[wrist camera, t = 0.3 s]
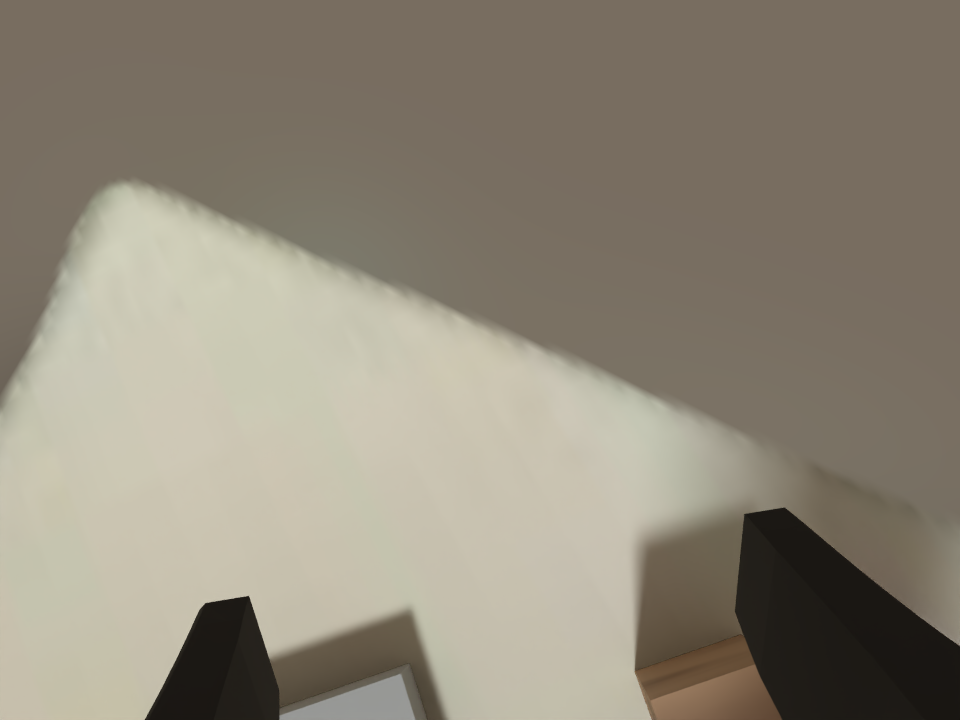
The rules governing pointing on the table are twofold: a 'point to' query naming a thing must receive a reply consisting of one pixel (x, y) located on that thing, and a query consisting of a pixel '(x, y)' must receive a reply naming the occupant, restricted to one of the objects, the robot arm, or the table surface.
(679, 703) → the walnut block
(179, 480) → the table surface
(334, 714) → the slate block
